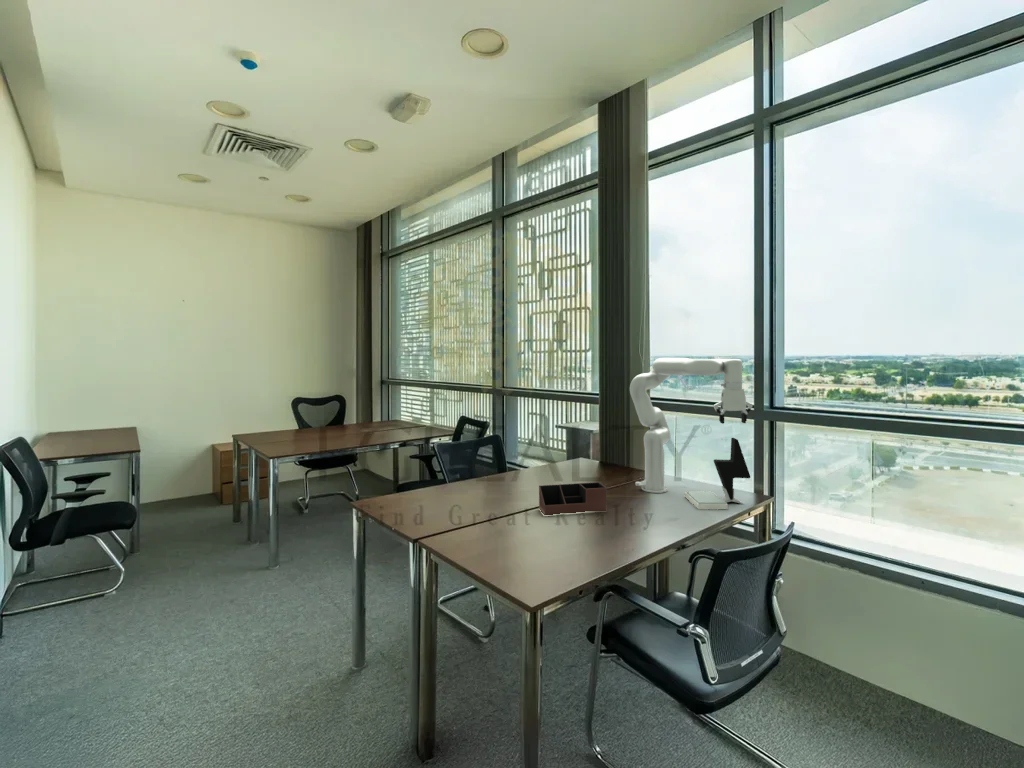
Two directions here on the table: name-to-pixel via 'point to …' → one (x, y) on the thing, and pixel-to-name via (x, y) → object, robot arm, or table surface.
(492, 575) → the table surface
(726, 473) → the award
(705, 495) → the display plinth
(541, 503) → the desk organizer
